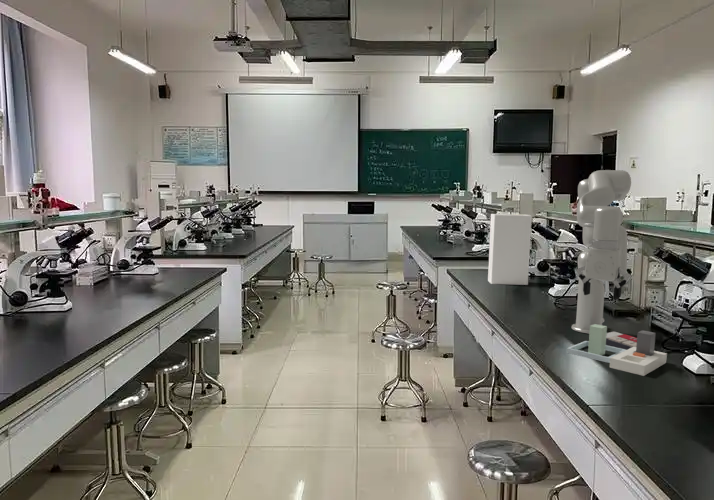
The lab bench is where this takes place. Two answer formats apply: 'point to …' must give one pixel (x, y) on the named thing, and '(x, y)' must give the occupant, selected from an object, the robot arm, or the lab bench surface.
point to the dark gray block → (645, 343)
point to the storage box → (509, 249)
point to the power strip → (637, 361)
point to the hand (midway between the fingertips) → (601, 296)
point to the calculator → (620, 340)
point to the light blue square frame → (576, 351)
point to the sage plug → (597, 339)
